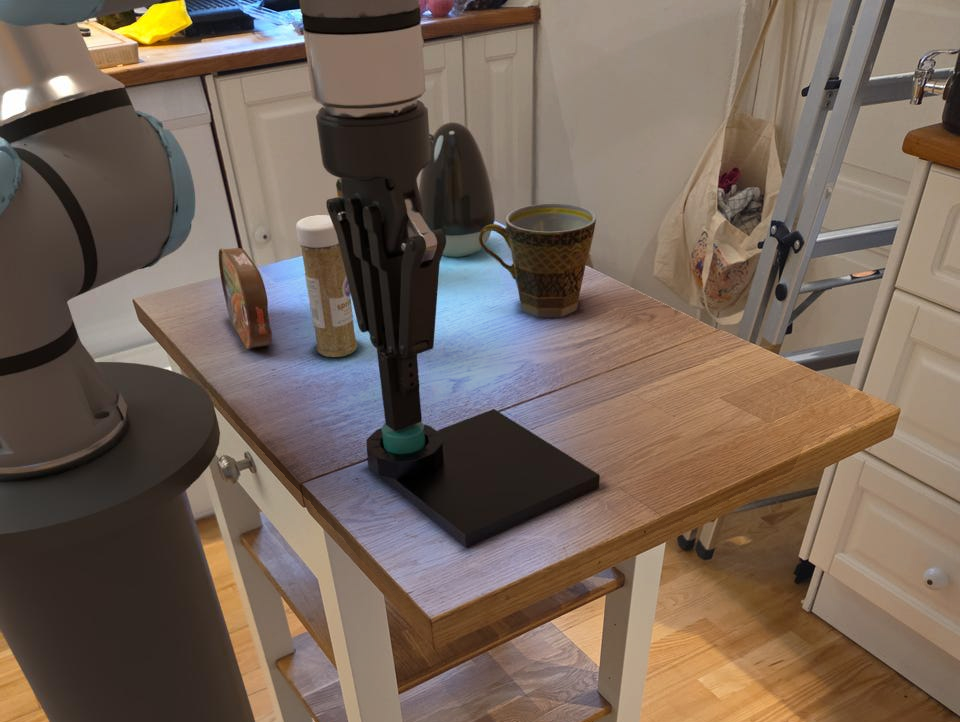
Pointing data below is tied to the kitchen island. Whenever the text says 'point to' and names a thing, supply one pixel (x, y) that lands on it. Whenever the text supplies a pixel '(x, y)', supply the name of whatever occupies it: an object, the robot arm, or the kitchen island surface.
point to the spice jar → (327, 286)
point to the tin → (245, 297)
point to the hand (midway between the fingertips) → (403, 422)
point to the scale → (481, 475)
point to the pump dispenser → (457, 190)
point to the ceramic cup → (547, 255)
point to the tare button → (404, 439)
